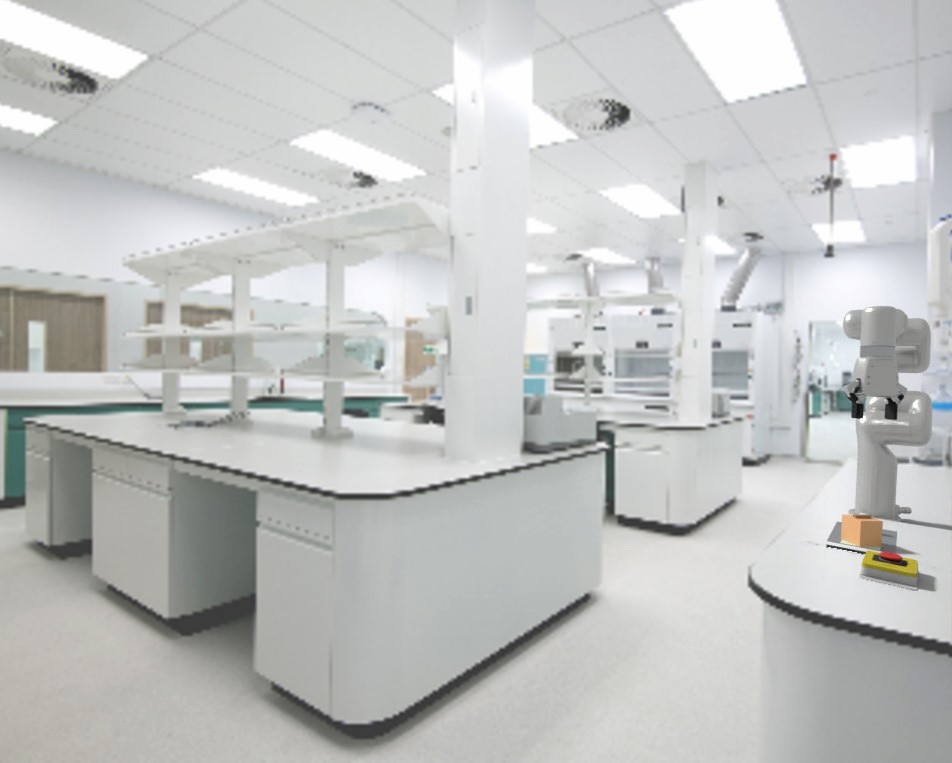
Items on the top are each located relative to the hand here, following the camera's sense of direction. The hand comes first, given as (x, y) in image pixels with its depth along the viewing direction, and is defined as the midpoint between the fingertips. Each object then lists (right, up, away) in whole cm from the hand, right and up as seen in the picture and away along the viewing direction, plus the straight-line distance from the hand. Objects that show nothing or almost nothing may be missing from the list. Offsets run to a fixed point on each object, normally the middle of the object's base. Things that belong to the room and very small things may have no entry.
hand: (873, 418), depth 144 cm
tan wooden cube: (-13, -29, -14) cm, 34 cm away
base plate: (-8, -30, -7) cm, 32 cm away
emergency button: (-19, -31, -30) cm, 47 cm away
